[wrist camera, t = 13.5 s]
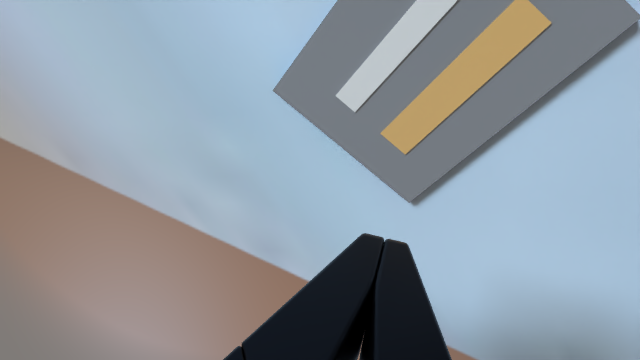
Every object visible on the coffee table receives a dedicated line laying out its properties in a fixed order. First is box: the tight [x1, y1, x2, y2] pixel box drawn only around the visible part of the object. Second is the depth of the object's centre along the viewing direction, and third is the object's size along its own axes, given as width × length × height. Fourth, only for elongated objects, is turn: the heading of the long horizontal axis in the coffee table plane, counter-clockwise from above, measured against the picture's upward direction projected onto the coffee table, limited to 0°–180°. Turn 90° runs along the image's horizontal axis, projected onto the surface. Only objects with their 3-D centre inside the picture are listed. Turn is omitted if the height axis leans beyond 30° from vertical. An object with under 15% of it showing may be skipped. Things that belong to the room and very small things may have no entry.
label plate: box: [273, 0, 640, 202], centre depth 18 cm, size 12×9×1 cm
